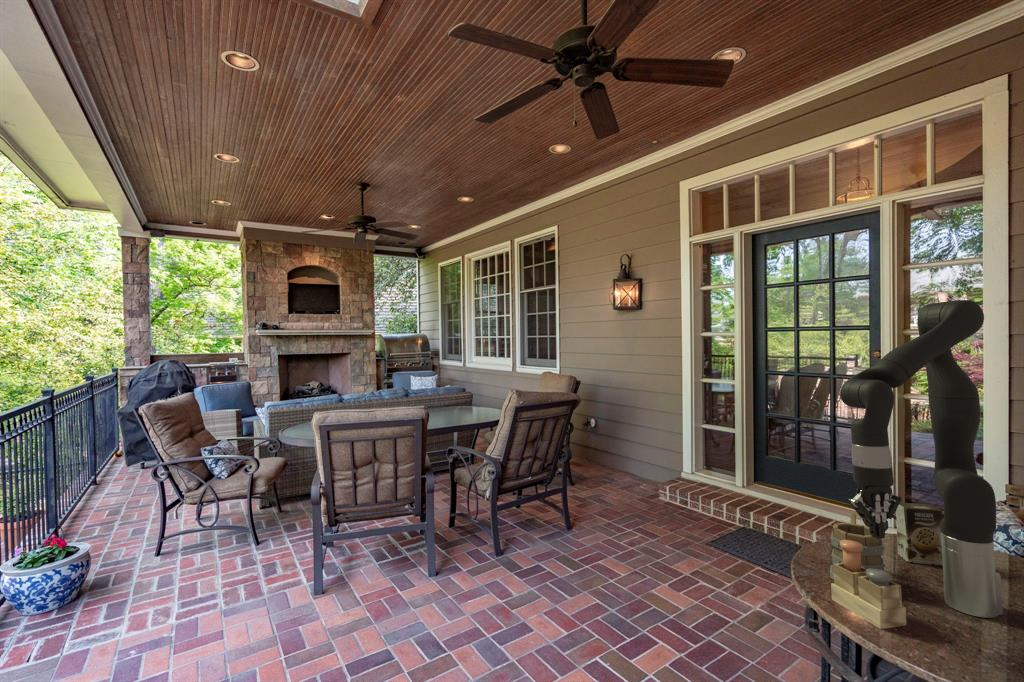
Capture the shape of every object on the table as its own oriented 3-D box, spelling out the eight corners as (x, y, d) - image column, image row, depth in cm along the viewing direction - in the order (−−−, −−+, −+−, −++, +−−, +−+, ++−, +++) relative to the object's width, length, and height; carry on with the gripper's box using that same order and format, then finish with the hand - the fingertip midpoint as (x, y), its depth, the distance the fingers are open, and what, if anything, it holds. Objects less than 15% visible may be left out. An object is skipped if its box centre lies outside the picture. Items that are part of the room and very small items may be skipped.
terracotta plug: (852, 565, 117) (850, 539, 117) (868, 574, 113) (867, 546, 113) (836, 567, 116) (835, 540, 117) (852, 576, 112) (851, 548, 112)
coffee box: (908, 563, 135) (905, 508, 136) (897, 553, 142) (894, 501, 142) (946, 566, 133) (942, 510, 133) (933, 557, 139) (930, 503, 140)
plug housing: (855, 596, 118) (853, 561, 118) (906, 625, 105) (904, 585, 105) (831, 599, 117) (830, 563, 117) (880, 629, 104) (878, 588, 104)
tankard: (889, 597, 117) (886, 538, 118) (829, 583, 125) (826, 527, 125) (885, 567, 133) (882, 515, 134) (832, 557, 141) (830, 507, 141)
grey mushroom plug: (879, 596, 110) (877, 567, 110) (898, 606, 106) (896, 576, 106) (862, 598, 109) (861, 569, 110) (881, 608, 105) (879, 578, 105)
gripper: (862, 469, 104) (869, 546, 103) (911, 464, 106) (917, 540, 105) (834, 462, 111) (839, 534, 110) (879, 458, 113) (885, 529, 113)
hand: (877, 537), depth 108 cm, fingers closed
